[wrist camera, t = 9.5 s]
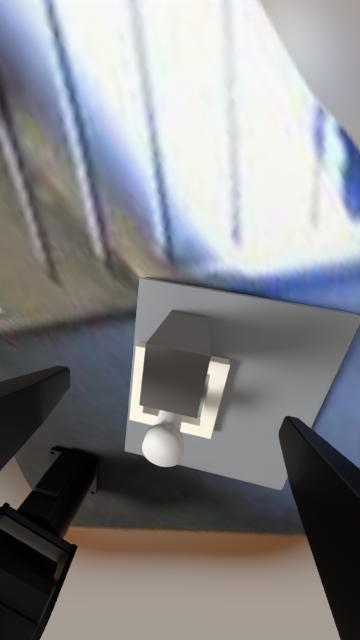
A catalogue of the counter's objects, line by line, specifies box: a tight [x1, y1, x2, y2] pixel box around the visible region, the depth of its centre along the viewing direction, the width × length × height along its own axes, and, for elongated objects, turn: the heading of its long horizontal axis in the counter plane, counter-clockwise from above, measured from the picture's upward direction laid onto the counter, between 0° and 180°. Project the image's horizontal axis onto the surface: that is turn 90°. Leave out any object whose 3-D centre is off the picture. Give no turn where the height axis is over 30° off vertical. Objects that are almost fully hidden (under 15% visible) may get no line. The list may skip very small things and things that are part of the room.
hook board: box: [125, 277, 360, 490], centre depth 14 cm, size 19×17×8 cm
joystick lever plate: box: [129, 310, 230, 439], centre depth 13 cm, size 11×8×7 cm
